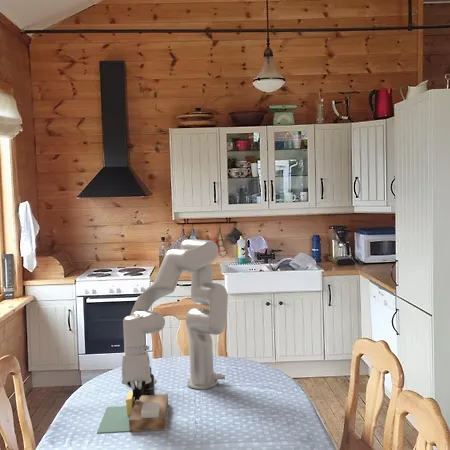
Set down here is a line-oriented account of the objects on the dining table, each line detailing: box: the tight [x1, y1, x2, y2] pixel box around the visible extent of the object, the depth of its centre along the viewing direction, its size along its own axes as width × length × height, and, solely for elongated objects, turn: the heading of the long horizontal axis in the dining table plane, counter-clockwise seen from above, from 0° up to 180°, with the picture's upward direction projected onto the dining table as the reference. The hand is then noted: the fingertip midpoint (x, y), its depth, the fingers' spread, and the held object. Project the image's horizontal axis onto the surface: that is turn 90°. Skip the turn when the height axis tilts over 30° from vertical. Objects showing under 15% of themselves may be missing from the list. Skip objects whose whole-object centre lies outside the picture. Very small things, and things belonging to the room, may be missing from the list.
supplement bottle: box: [137, 366, 156, 396], centre depth 228 cm, size 7×7×12 cm
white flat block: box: [141, 403, 160, 418], centre depth 203 cm, size 6×8×2 cm
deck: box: [129, 393, 169, 432], centre depth 209 cm, size 12×22×4 cm, turn 2°
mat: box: [96, 405, 131, 434], centre depth 209 cm, size 12×22×1 cm, turn 2°
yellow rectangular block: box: [125, 390, 135, 416], centre depth 215 cm, size 6×8×2 cm
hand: (137, 398), depth 214 cm, fingers closed
